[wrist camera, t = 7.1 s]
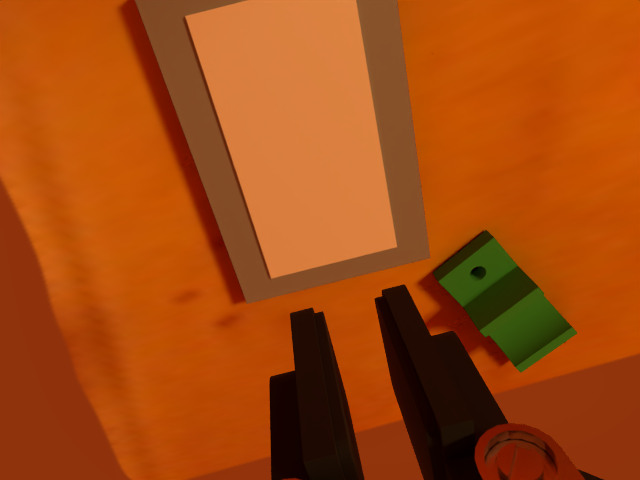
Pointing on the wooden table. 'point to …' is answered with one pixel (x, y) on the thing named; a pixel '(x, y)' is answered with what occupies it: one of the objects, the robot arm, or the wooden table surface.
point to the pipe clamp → (504, 302)
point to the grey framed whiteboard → (297, 133)
